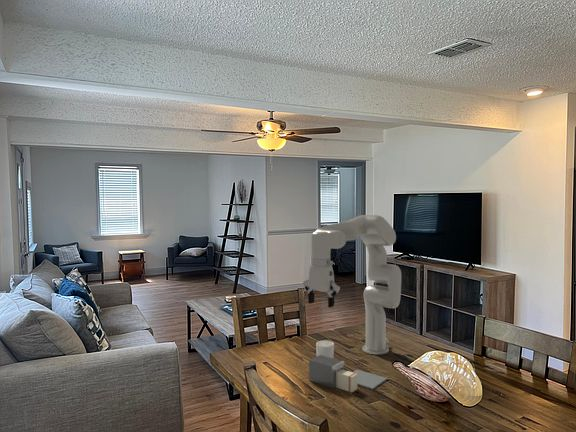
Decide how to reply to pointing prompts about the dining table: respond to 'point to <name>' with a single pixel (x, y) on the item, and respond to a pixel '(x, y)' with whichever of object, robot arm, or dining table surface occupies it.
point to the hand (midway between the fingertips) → (321, 304)
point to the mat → (368, 379)
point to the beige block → (346, 380)
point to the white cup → (325, 348)
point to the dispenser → (324, 370)
